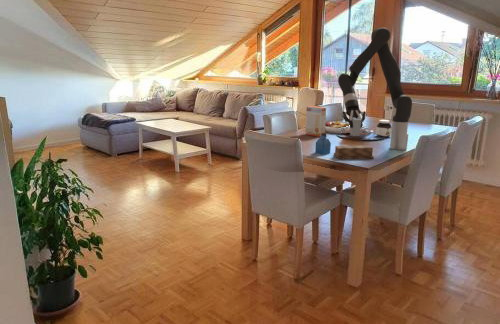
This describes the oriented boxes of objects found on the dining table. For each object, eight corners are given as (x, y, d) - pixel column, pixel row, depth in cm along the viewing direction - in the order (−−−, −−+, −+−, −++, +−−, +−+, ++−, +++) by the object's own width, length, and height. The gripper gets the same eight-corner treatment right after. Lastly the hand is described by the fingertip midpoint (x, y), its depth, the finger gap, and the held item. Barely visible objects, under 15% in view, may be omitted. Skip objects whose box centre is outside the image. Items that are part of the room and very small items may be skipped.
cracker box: (325, 136, 280) (326, 107, 275) (319, 137, 277) (321, 108, 271) (310, 133, 291) (311, 105, 285) (305, 134, 287) (306, 106, 281)
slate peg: (357, 133, 223) (358, 118, 220) (360, 135, 218) (361, 119, 216) (349, 133, 222) (350, 118, 220) (352, 135, 218) (353, 119, 215)
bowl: (355, 127, 315) (356, 118, 313) (365, 135, 286) (366, 124, 284) (318, 127, 316) (318, 118, 314) (324, 135, 287) (324, 124, 285)
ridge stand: (367, 154, 229) (367, 144, 228) (373, 159, 220) (374, 148, 218) (333, 155, 228) (334, 145, 226) (338, 159, 218) (339, 149, 216)
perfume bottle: (322, 154, 229) (323, 134, 226) (315, 152, 234) (316, 133, 230) (330, 153, 232) (331, 133, 229) (322, 151, 237) (323, 131, 234)
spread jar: (379, 137, 276) (380, 121, 273) (371, 134, 287) (372, 119, 284) (394, 137, 278) (396, 121, 275) (386, 134, 289) (388, 118, 286)
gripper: (340, 98, 222) (346, 123, 213) (365, 98, 223) (371, 123, 214) (337, 107, 228) (342, 131, 220) (361, 106, 229) (367, 131, 221)
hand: (356, 127), depth 217 cm, fingers closed on slate peg, 4 cm apart
